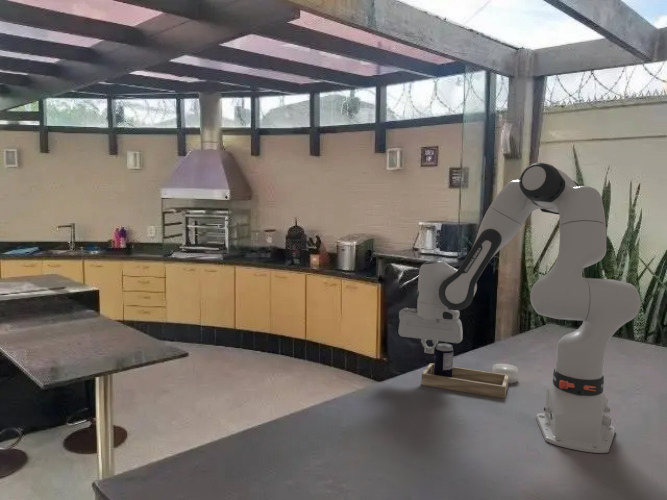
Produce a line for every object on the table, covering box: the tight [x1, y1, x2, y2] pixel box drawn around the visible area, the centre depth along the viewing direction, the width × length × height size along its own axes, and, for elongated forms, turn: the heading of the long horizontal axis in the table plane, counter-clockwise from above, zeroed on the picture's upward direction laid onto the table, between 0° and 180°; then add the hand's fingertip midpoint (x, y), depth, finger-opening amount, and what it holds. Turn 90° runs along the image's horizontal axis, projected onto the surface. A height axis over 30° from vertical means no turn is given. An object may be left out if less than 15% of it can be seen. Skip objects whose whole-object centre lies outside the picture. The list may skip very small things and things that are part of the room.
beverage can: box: [433, 342, 454, 378], centre depth 167 cm, size 6×6×12 cm
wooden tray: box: [420, 362, 509, 399], centre depth 165 cm, size 12×25×4 cm, turn 67°
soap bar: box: [492, 363, 519, 384], centre depth 171 cm, size 8×8×4 cm
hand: (429, 352), depth 168 cm, fingers closed
